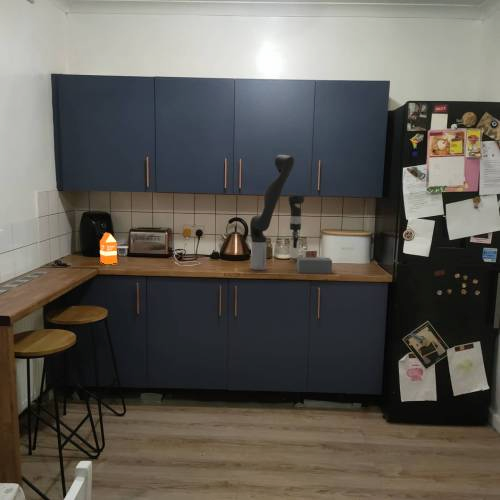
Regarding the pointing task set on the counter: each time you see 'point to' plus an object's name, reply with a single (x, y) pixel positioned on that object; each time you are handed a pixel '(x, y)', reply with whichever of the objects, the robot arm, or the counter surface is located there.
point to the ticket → (294, 249)
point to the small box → (310, 253)
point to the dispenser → (314, 265)
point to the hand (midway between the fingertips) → (294, 247)
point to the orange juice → (108, 249)
